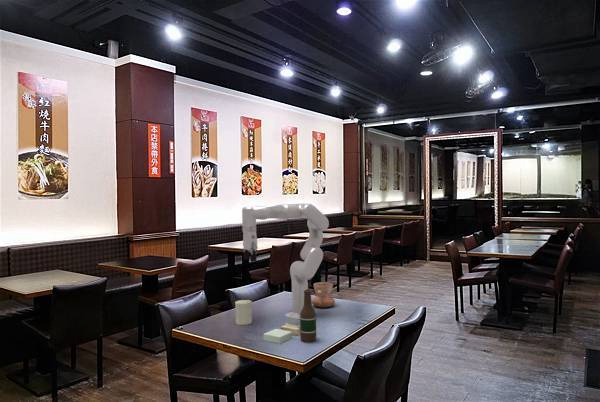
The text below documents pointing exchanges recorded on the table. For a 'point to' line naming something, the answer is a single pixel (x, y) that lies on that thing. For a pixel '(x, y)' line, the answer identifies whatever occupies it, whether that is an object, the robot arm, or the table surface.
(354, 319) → the table surface
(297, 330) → the stand
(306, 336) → the beer bottle
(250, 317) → the can
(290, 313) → the housing
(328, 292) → the ceramic jug
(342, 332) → the table surface
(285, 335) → the stand
